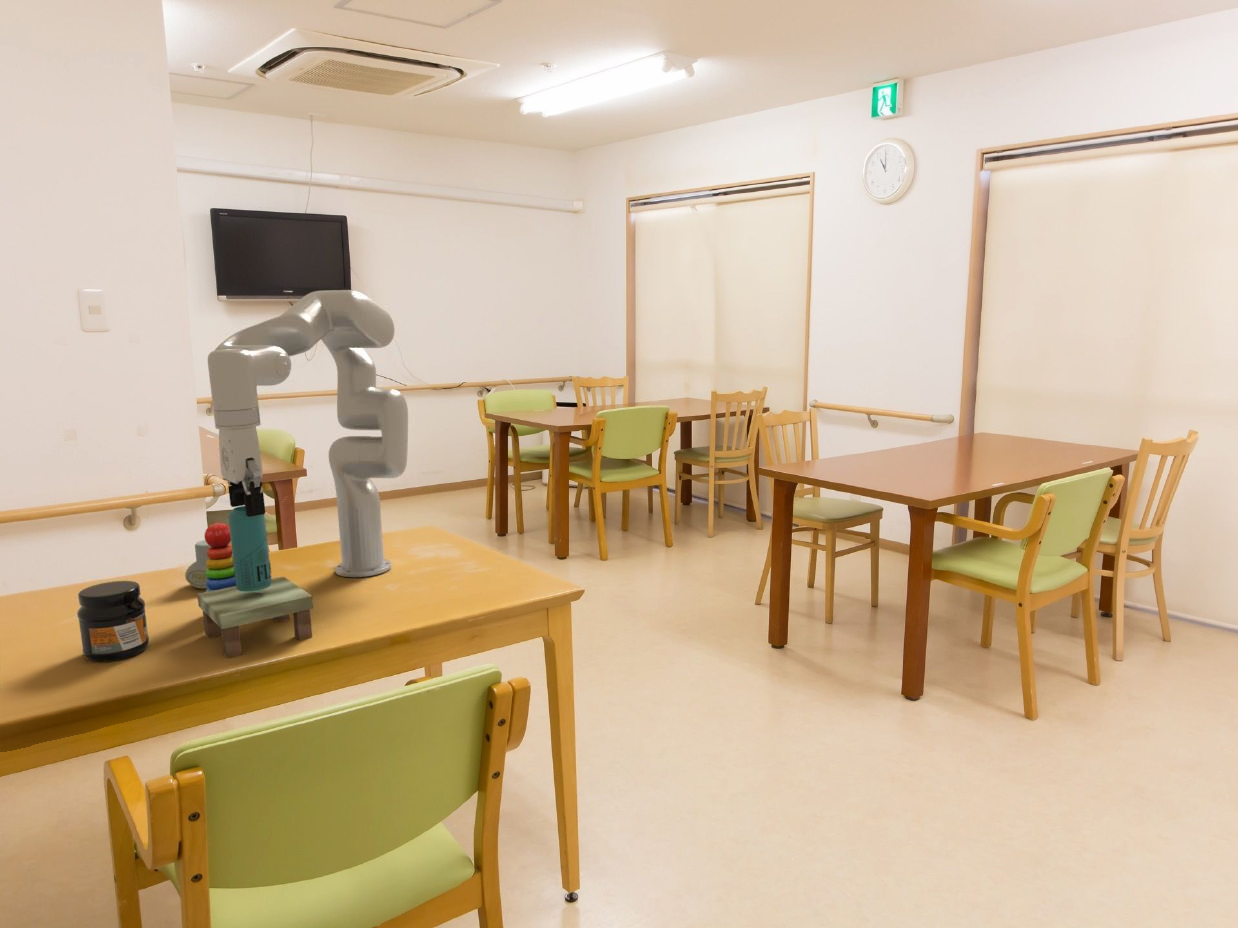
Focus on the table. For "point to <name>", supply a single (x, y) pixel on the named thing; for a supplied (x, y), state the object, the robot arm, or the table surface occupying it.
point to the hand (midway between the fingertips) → (247, 510)
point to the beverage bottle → (249, 547)
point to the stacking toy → (219, 558)
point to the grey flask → (198, 566)
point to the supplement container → (112, 621)
